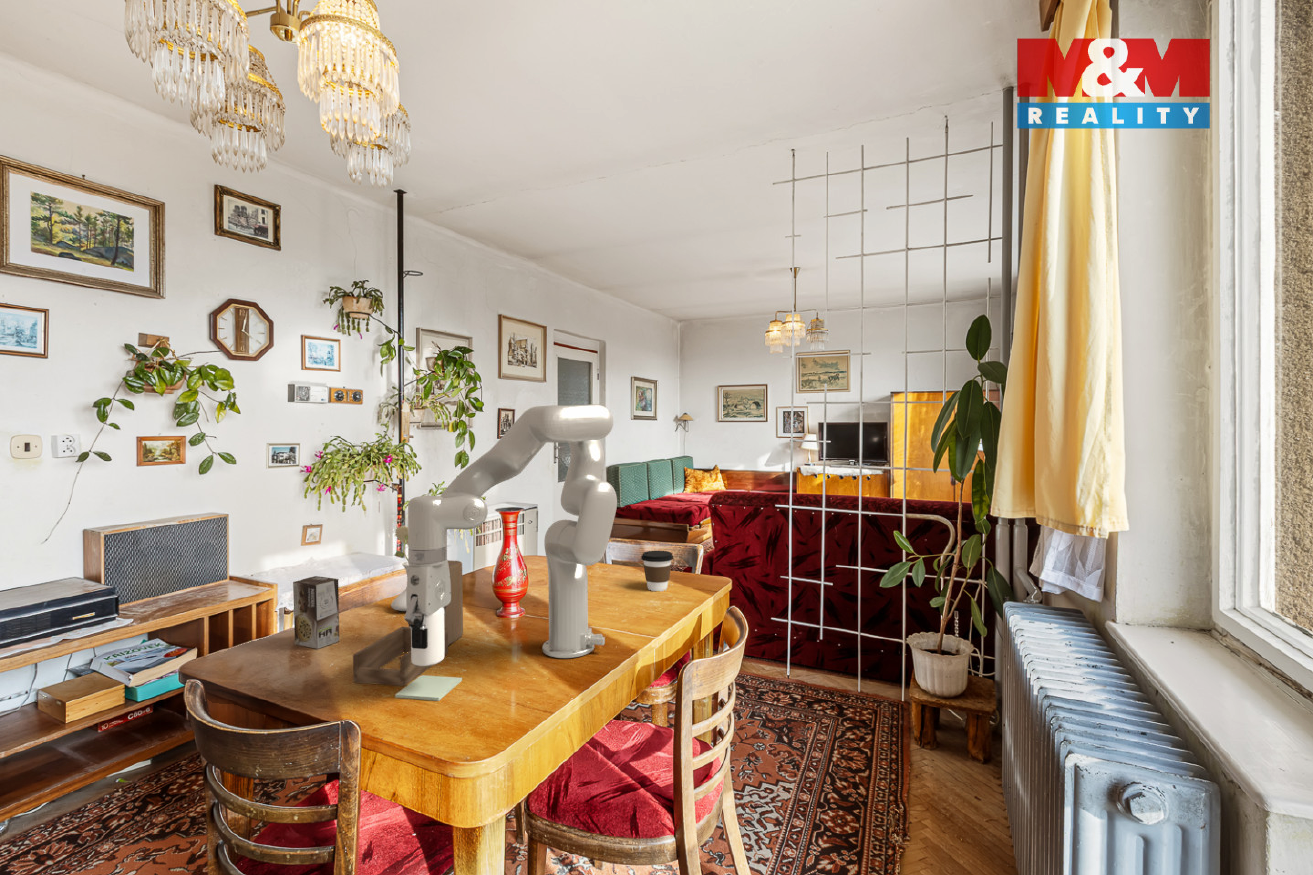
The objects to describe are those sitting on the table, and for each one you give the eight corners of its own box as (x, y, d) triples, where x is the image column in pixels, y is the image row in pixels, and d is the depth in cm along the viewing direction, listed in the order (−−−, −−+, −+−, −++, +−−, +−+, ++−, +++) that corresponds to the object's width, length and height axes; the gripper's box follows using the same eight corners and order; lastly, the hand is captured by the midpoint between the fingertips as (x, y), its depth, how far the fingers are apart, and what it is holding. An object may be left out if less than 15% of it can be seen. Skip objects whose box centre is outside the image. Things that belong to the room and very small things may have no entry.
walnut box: (448, 653, 142) (447, 628, 142) (404, 685, 125) (404, 657, 124) (402, 650, 144) (402, 626, 144) (353, 682, 126) (352, 654, 126)
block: (443, 650, 144) (442, 569, 144) (407, 647, 146) (405, 567, 146) (464, 636, 154) (463, 560, 154) (430, 633, 156) (429, 558, 156)
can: (412, 669, 118) (412, 610, 118) (409, 658, 124) (409, 601, 124) (446, 663, 121) (446, 605, 121) (442, 652, 127) (441, 597, 127)
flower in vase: (439, 606, 180) (438, 525, 180) (406, 616, 170) (405, 530, 170) (413, 600, 187) (412, 521, 187) (379, 609, 177) (378, 526, 177)
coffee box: (340, 641, 151) (339, 578, 151) (317, 649, 145) (316, 584, 145) (317, 636, 155) (316, 575, 155) (293, 644, 149) (292, 580, 149)
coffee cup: (638, 592, 193) (638, 556, 193) (644, 584, 204) (644, 549, 204) (671, 594, 192) (671, 557, 191) (675, 585, 202) (675, 550, 202)
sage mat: (461, 680, 127) (461, 677, 127) (438, 700, 118) (438, 697, 118) (421, 677, 129) (421, 675, 129) (395, 697, 119) (395, 694, 119)
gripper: (421, 565, 114) (422, 659, 114) (464, 548, 130) (465, 629, 131) (386, 564, 115) (386, 656, 115) (433, 547, 132) (433, 627, 132)
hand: (428, 641), depth 123 cm, fingers closed on can, 5 cm apart
